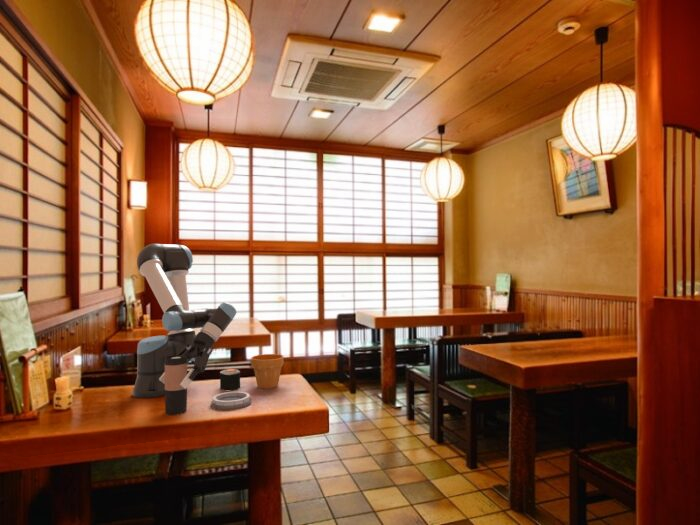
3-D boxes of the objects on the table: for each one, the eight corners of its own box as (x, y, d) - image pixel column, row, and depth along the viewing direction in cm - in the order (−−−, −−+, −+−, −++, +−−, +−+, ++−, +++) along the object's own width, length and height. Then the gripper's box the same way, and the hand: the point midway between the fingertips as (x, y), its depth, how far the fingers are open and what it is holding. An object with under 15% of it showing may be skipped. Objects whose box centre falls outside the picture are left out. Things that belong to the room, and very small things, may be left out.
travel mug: (165, 416, 151) (165, 359, 151) (163, 410, 158) (163, 355, 158) (188, 413, 154) (188, 357, 155) (185, 407, 161) (185, 353, 162)
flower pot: (246, 385, 192) (245, 356, 192) (274, 380, 201) (274, 352, 201) (259, 392, 181) (259, 361, 181) (289, 386, 189) (289, 357, 190)
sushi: (231, 384, 194) (231, 366, 194) (243, 387, 189) (243, 369, 189) (216, 388, 188) (216, 370, 188) (228, 391, 183) (228, 372, 183)
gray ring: (202, 407, 161) (202, 399, 161) (227, 396, 175) (227, 389, 175) (235, 411, 155) (235, 403, 156) (259, 400, 169) (259, 393, 170)
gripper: (233, 345, 162) (199, 395, 149) (194, 340, 177) (160, 385, 164) (222, 333, 158) (185, 383, 145) (182, 328, 173) (146, 373, 160)
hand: (171, 384), depth 155 cm, fingers open, 13 cm apart
